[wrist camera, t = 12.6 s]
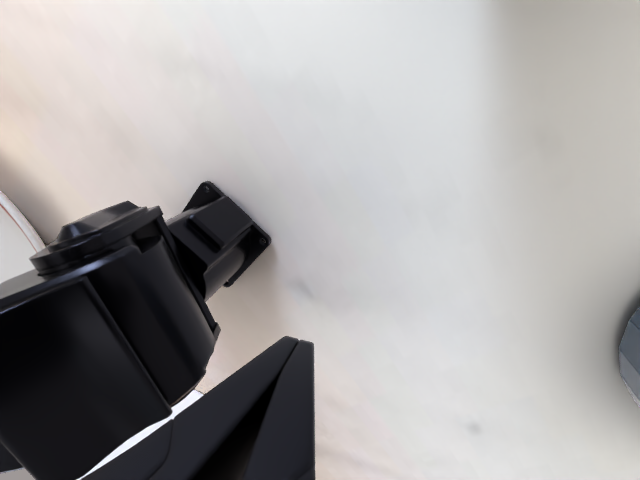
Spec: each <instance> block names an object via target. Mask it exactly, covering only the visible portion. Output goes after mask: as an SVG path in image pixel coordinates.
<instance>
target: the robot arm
mask: <svg viewBox="0 0 640 480" xmlns="http://www.w3.org/2000/svg"><path fill="white" fill-rule="evenodd" d="M206 186H207V187H208V188H209V191H208V190H207V189H206ZM162 215H163V213H162V211H161V209H160V207H159V206H156V207H152V208H149V209H147V207H142V208H141V207H138V206H136V205H134V204H133V203H131V202H130V201H126V202H122V203H119V204H117V205H114V206H111V207H108V208H106V209H103V210H100V211H98V212H95V213H92V214H90V215H88V216H85V217H83V218H81V219H78V220H76V221H74V222H72V223H69V224H67V225H65V226H63V227H62V229H61V231H60V233H59V235H58V238H57V240H55V241H53V242H52V243H50V244H49V245H47V246H46V248H44V249H43V250H41V251H39V252H38V253H36V254H35V255H33V256H31V257H30V258H29V260H30V261H31V263H32V264H33V266H34V267H35V269H33V270H31V271H28V272H26V273H23V274H21V275H18V276H16V277H13V278H11V279H9V280H6V281H4V282H3V283H1V284H0V474H1V473H6V472H11V471H15V470H20V469H26V470H27V471H28V472H29V473H30V474H31V475H32V476H33V477H34V478H35V480H77V479H79V478H81V477H83V476H84V475H85V474H87V473H88V472H89V471H90V470H91V469H93V468H94V467H95V466H96V465H97V464H98V463H100V462H101V461H102V460H103V459H104V458H106V457H107V456H108V455H109V454H110V453H112V452H113V451H114V450H115V449H117V448H118V447H119V446H120V445H122V444H123V443H124V442H126V441H127V440H128V439H130V438H131V437H133V436H134V435H136V434H138V433H139V432H141V431H142V430H144V429H145V428H147V427H149V426H151V425H153V424H155V423H157V422H159V421H162V420H164V419H166V418H168V417H169V416H170V415H171V414H172V412H173V411H172V409H171V408H172V407H173V406H175V405H177V404H178V403H179V402H181V401H182V400H183V399H184V398H186V397H187V396H188V395H189V394H190V393H191V392H192V391H193V390H194V389H195V387H196V386H197V385H198V383H199V382H200V381H201V380H202V378H203V377H204V375H205V373H206V366H207V364H208V361H209V359H210V357H211V355H212V353H213V351H214V346H215V343H216V341H217V338H218V336H219V333H220V331H221V329H220V327H219V325H218V323H217V322H215V321H214V319H213V317H212V315H211V313H210V311H209V309H208V307H207V305H206V303H205V302H206V301H207V300H208V299H209V298H210V297H211V296H212V295H213V294H214V293H215V292H216V291H217V290H218V289H219V288H220V287H221V286H222V285H223V286H225V287H230V286H231V285H232V284H233V283H234V282H235V281H236V280H237V279H238V278H239V277H240V275H241V274H242V273H243V272H244V271H245V270H246V269H247V268H248V267H249V266H250V265H251V264H252V263H253V262H254V261H255V259H256V258H257V257H258V256H259V255H260V254H261V253H262V252H263V251H264V250H265V249H266V248H267V247H268V246H269V245H270V243H271V238H270V237H269V235H268V234H267V233H265V232H264V231H263V230H262V229H261V228H260V227H259V226H258V225H257V224H256V223H255V222H254V221H253V220H252V219H251V218H250V217H249V216H248V215H247V214H246V213H245V212H244V211H243V210H242V209H241V208H240V207H238V206H237V205H236V204H235V203H234V202H233V201H232V200H231V199H230V198H229V197H227V196H226V195H225V194H224V193H222V192H221V191H220V190H219V189H218V188H217V187H216V186H215V185H214V184H213V183H211V182H210V181H205V182H203V183H201V184H200V186H199V187H198V189H197V190H196V192H195V193H194V195H193V196H192V198H191V200H190V201H189V203H188V204H187V206H186V207H185V209H184V210H183V212H182V213H181V214H179V215H177V216H175V217H173V218H171V219H169V220H167V221H164V219H163V217H162ZM262 239H264V240H265V241H266V243H264V242H263V241H262ZM227 280H228V281H227ZM80 480H315V410H314V344H313V343H312V342H309V341H305V340H300V341H299V340H298V339H297V338H293V337H289V336H285V337H283V338H281V339H280V340H279V341H277V342H276V343H275V344H273V345H272V346H270V347H269V348H268V349H266V350H265V351H264V352H262V353H261V354H260V355H258V356H257V357H255V358H254V359H253V360H251V361H250V362H249V363H247V364H246V365H244V366H243V367H242V368H240V369H239V370H238V371H236V372H235V373H234V374H232V375H231V376H229V377H228V378H227V379H225V380H224V381H223V382H221V383H220V384H218V385H217V386H216V387H214V388H213V389H212V390H210V391H209V392H208V393H206V394H205V395H203V396H202V397H201V398H199V399H198V400H197V401H195V402H194V403H193V404H191V405H190V406H188V407H187V408H186V409H184V410H183V411H182V412H180V413H179V414H177V415H176V416H175V417H174V420H173V419H170V420H169V421H168V422H166V423H165V424H164V425H162V426H161V427H159V428H158V429H157V430H155V431H154V432H152V433H151V434H150V435H148V436H147V437H145V438H144V439H142V440H141V441H140V442H138V443H137V444H135V445H134V446H132V447H131V448H129V449H128V450H126V451H125V452H123V453H122V454H120V455H118V456H117V457H115V458H114V459H112V460H111V461H109V462H108V463H106V464H104V465H103V466H101V467H100V468H98V469H96V470H95V471H93V472H92V473H90V474H88V475H87V476H85V477H83V478H82V479H80Z"/></svg>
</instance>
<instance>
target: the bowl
mask: <svg viewBox="0 0 640 480" xmlns="http://www.w3.org/2000/svg"><path fill="white" fill-rule="evenodd" d="M619 361H620V374H621V377H622V379H623V381H624V383H625V385H626V386H627V388H628V390H629V392H630V394H631V396H632V398H633V399H634V401H635V402H636V403H637V405H638V406H639V408H640V307H639V308H638V309H637V310H636V312H635V313H634V314H633V315H632V317H631V318H630V320H629V321H628V324H627V326H626V329H625V332H624V334H623V337H622V340H621V343H620V345H619Z"/></svg>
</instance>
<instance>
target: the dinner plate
mask: <svg viewBox="0 0 640 480" xmlns="http://www.w3.org/2000/svg"><path fill="white" fill-rule="evenodd" d="M44 248H46V246H45V245H44V243H43V241H42V240H41V238H40V237H39V235H38V234H37V233H36V231H35V230H34V228H33V227H32V226H31V224H30V223H29V222H28V221H27V219H26V218H25V217H24V216H23V214H22V213H21V212H20V211H19V210H18V208H17V207H16V206H15V205H14V204H13V203H12V202H11V201H10V200H9V199H8V197H7V196H6V195H5V194H4V193H3V192H2V191H1V190H0V284H1V283H3V282H4V281H6V280H9V279H11V278H13V277H16V276H18V275H21V274H23V273H26V272H28V271H31V270H33V269H35V267H34V266H33V264H32V263H31V261H30V260H29V258H30V257H31V256H33V255H35V254H36V253H38V252H39V251H41V250H43V249H44Z"/></svg>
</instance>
